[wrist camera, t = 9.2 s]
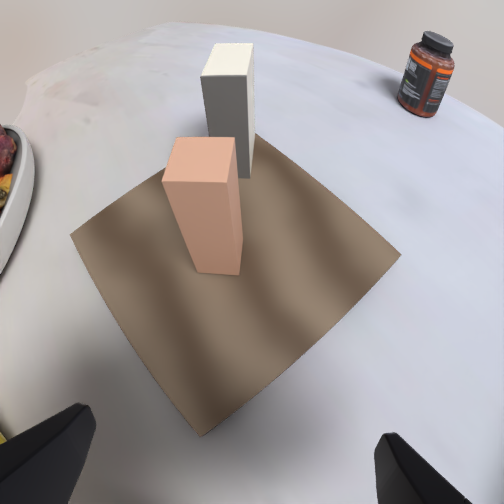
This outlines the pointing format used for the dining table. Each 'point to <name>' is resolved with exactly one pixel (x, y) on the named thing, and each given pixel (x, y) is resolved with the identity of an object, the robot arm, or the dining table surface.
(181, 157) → the salmon pink tall block
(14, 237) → the bowl
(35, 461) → the robot arm
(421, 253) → the dining table surface
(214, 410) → the brown square mat
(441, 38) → the supplement bottle
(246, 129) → the white rectangular block
